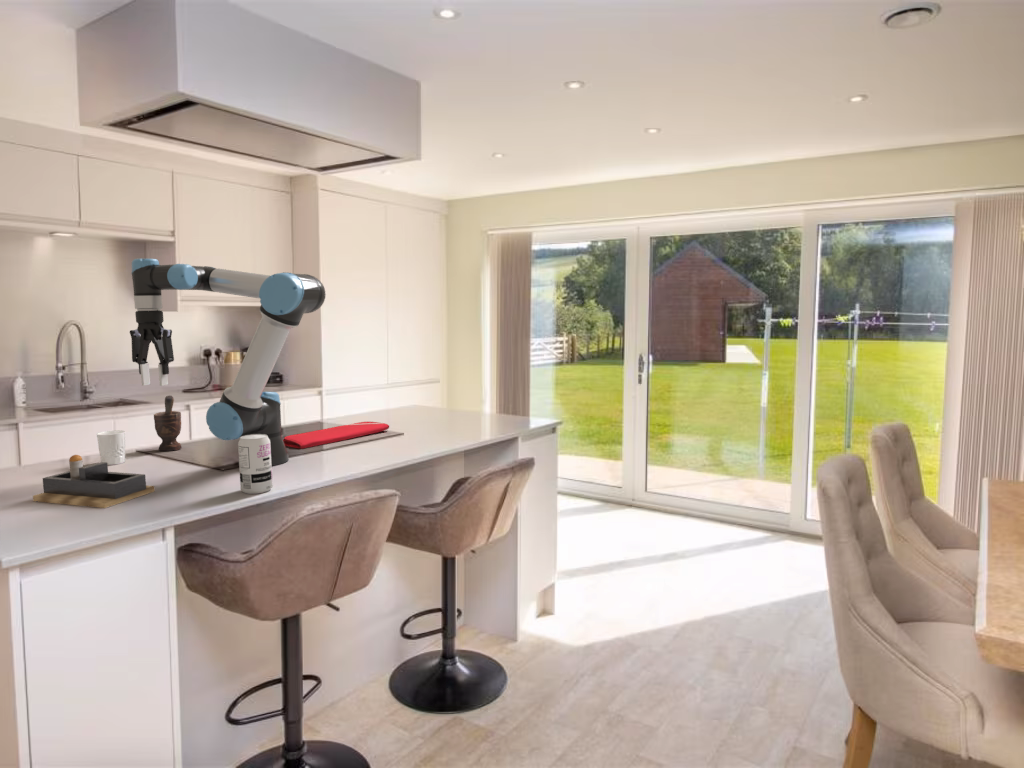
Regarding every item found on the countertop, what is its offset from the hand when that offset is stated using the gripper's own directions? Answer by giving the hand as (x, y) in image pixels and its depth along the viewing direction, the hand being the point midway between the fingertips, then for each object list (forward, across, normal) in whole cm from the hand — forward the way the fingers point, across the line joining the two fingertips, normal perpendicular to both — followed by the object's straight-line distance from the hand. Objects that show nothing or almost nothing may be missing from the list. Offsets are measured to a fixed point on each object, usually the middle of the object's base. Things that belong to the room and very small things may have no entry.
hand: (155, 384), depth 215 cm
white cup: (+26, +21, -3) cm, 34 cm away
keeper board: (+26, -6, +32) cm, 42 cm away
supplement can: (+27, -46, +17) cm, 56 cm away
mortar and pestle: (+26, +16, -24) cm, 39 cm away
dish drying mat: (+27, -30, -56) cm, 69 cm away
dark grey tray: (+25, -7, +32) cm, 41 cm away
